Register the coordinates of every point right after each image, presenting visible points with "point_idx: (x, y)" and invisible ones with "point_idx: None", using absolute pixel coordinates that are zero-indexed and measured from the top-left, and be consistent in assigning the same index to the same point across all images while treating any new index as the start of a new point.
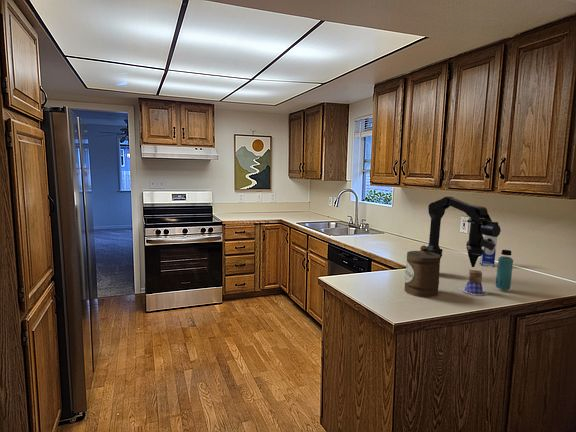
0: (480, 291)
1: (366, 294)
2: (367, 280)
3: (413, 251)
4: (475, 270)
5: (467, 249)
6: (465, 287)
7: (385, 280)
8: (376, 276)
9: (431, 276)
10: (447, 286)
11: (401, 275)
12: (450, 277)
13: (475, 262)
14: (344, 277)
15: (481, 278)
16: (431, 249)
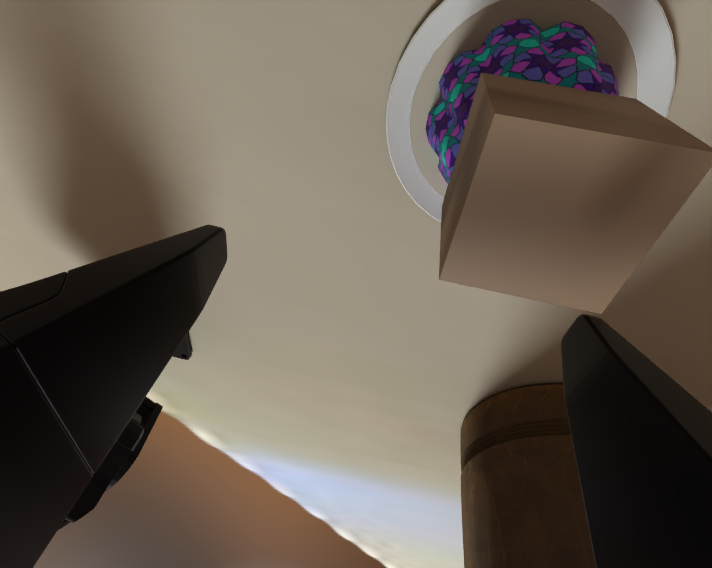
0: (614, 81)
1: None
2: (408, 526)
3: None
4: (482, 210)
5: (46, 542)
6: (405, 172)
7: (387, 491)
8: (340, 498)
9: None
10: (405, 293)
11: (275, 432)
12: (147, 212)
13: (691, 408)
14: (393, 555)
15: (667, 126)
16: (69, 522)
